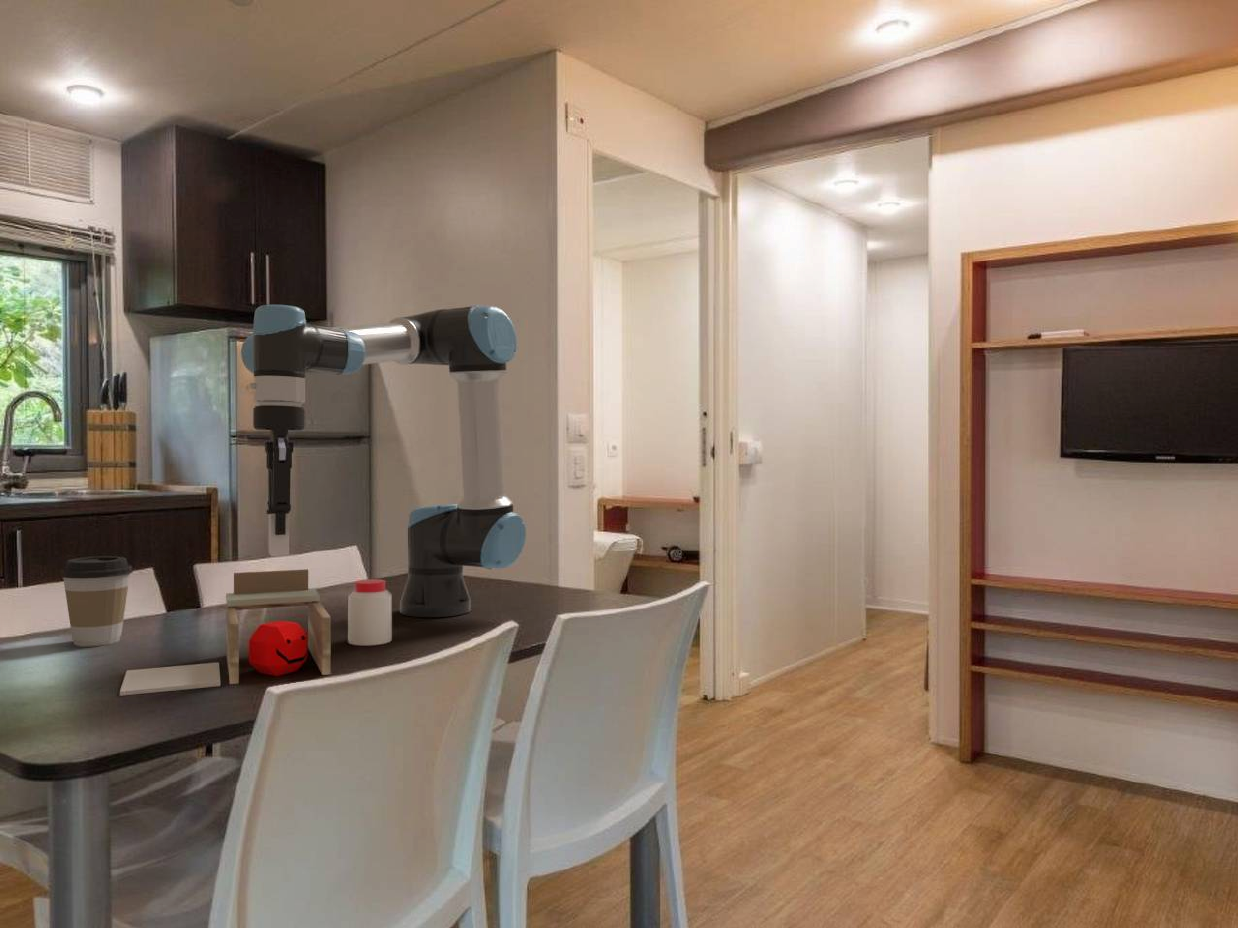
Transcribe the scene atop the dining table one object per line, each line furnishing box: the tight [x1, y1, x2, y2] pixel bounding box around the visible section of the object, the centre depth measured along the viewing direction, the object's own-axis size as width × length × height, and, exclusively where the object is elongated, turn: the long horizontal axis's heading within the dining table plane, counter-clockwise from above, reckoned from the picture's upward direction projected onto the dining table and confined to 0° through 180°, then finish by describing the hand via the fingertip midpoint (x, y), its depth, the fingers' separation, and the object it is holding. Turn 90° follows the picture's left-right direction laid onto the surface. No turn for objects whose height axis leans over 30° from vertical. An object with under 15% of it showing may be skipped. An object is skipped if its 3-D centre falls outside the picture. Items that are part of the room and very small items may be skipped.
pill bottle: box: [347, 578, 393, 647], centre depth 161 cm, size 8×8×11 cm
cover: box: [225, 568, 321, 607], centre depth 150 cm, size 14×8×4 cm, turn 116°
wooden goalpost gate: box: [225, 601, 332, 685], centre depth 143 cm, size 14×20×9 cm
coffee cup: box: [59, 555, 134, 648], centre depth 158 cm, size 11×11×15 cm
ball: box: [248, 620, 308, 677], centre depth 139 cm, size 8×8×8 cm
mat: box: [119, 661, 221, 697], centre depth 133 cm, size 13×13×1 cm
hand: (278, 554), depth 138 cm, fingers open, 3 cm apart
